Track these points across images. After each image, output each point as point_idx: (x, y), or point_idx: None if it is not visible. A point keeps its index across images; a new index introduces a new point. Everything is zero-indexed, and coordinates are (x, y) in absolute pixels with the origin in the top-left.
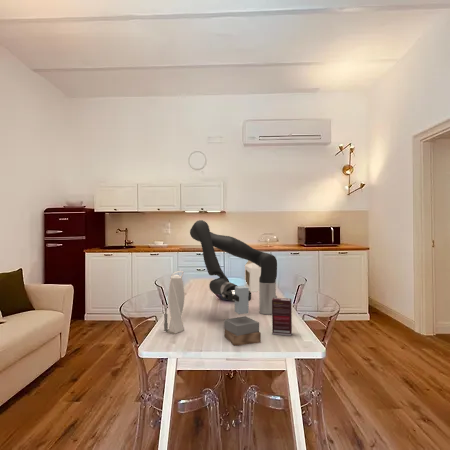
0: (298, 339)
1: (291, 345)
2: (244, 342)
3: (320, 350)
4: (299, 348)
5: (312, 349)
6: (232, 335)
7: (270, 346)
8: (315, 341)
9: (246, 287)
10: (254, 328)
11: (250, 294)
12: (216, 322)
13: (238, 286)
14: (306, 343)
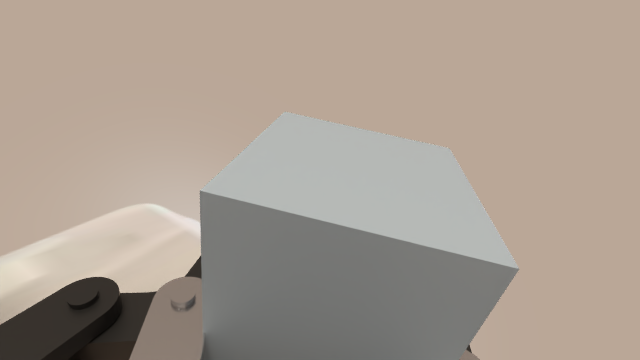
0: (34, 297)
1: (147, 271)
2: None
3: (133, 206)
4: (160, 242)
5: (140, 219)
6: None
7: None
8: (29, 246)
9: (297, 127)
10: None
11: (109, 293)
12: None
13: (407, 221)
14: (81, 253)
